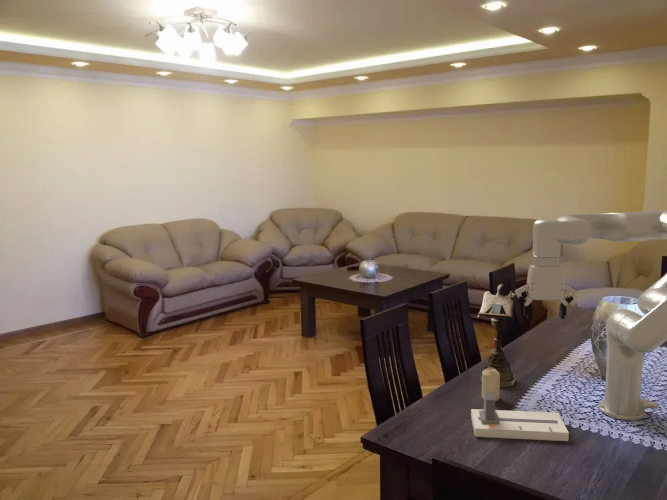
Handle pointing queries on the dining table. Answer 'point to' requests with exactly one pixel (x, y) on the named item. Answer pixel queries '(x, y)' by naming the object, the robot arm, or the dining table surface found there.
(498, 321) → the bird statue
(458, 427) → the dining table surface
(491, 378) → the candle
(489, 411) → the fader tab
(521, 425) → the fader console
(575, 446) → the dining table surface
